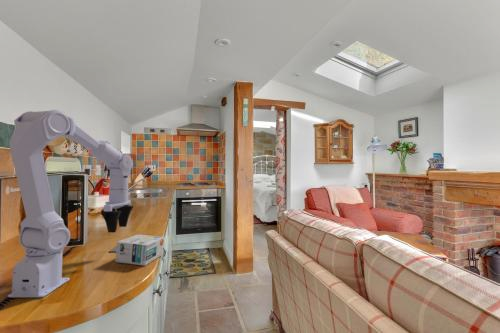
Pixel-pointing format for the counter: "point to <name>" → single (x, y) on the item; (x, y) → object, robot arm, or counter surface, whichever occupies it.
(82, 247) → the counter surface
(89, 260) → the counter surface
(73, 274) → the counter surface
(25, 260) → the robot arm
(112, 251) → the mat
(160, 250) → the light bulb box
